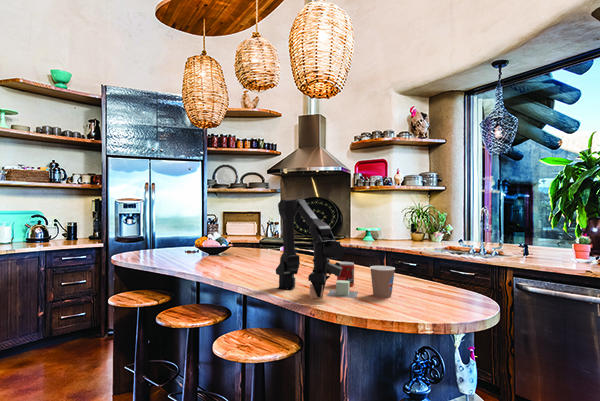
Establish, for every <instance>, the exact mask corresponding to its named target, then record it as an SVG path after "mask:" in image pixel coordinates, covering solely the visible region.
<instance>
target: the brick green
mask: <svg viewBox="0 0 600 401" xmlns="http://www.w3.org/2000/svg"><path fill="white" fill-rule="evenodd" d="M350 288H351V287H350V281H343V280H338V281H337V280H336V281H335V290H336V295H349V291H350Z"/></svg>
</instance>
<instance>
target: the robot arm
mask: <svg viewBox="0 0 600 401" xmlns="http://www.w3.org/2000/svg"><path fill="white" fill-rule="evenodd" d="M277 209H278V215H279V216H280V218H281V219H282V243H283V252H282V254H281V256H280V258H279V264H278V265H277V267H276V268H275V275H276V276H277V275H278V277H279V278H278V286H277V289H278V290H291V291H292V290H293V289H294V288H296V277H295V275H297V274H298V272H299V268H300V265H301V263H300V255H299V254H297V252H296V251H295V248H296V247H295V246H296V245H295V224H294V223H295V221H294V220H295V217H296V215H297V214H300V216H301V217H302V219H303V220H304V221H305V222H306V224H307V226H308V232H309V234H310V235H311V237H312V238H313V240H312V241H311V242H310V245H312V246H313V258H312V263H313V268H312V272H310V274H309V275H308V279H307V280H308V282H310V284H312V285H313V287H314V290H315V292H316V294H317V297H321V291H322V286H323V293H324V291H325V288H326V282H327V281H328V279H329V278H331V275H334V276H335V277H337V276H339V275H340V273H341V271H342V267H341V266H340V263H338V262H339V261H338V262H337V261H336V262H335V263H333V262H330V259H335V260H340V259H342V258H343V257H344V254H345V249H344V246H343V245H342V244H341V241H340V240H336V237H335V236H334V234H333V232H332V229H331V227H330V225H328V224H327V223H326V222H324V221H322V220H321V219H320V218H318V217H317V215H316V214H315V212H314V211H313V210H312V209H311V208H310V206H309V204H307V201H306V199H303V198H301V199H300V198H295V199H281V200H280V201H279V202H278V203H277Z"/></svg>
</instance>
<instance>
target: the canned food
mask: <svg viewBox="0 0 600 401" xmlns="http://www.w3.org/2000/svg"><path fill="white" fill-rule="evenodd" d="M338 263H340V266H341V267H342V271H341V273H340V275H339V276H336V282H337V281H338V280H343V281H350V287H349V288H352V287H354V286H355V263H354V262H353V261H352V262H351V261H338Z"/></svg>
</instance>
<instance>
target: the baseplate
mask: <svg viewBox="0 0 600 401" xmlns="http://www.w3.org/2000/svg"><path fill="white" fill-rule="evenodd" d="M358 295H359V291H354V290H349V295H336V289H330V290H329V291H328V293H327V294H326V297H332V298H333V297H334V298H346V299H347V298H348V299H349V298H351V299H357V296H358Z"/></svg>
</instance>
